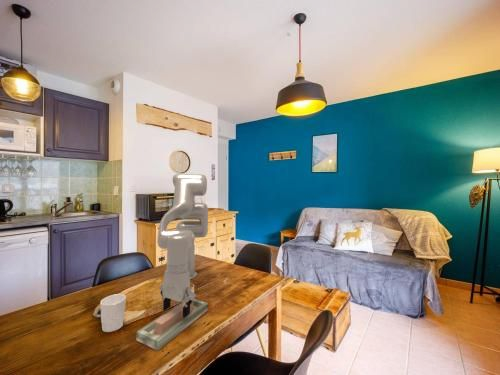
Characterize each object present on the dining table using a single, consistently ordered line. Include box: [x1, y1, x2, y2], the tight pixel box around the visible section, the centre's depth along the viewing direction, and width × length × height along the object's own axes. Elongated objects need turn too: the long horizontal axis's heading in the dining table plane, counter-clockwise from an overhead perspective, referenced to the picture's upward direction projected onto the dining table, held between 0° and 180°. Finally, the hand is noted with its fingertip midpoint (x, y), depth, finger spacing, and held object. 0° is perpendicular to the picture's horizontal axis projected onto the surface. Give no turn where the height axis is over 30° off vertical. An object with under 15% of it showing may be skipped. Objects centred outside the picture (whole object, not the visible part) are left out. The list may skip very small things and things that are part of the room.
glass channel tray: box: [135, 296, 209, 352], centre depth 84 cm, size 10×26×3 cm, turn 154°
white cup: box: [99, 293, 127, 333], centre depth 81 cm, size 8×8×10 cm
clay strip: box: [153, 299, 193, 335], centre depth 83 cm, size 4×16×4 cm, turn 154°
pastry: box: [92, 303, 101, 318], centre depth 92 cm, size 9×7×4 cm
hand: (176, 312), depth 84 cm, fingers open, 9 cm apart
